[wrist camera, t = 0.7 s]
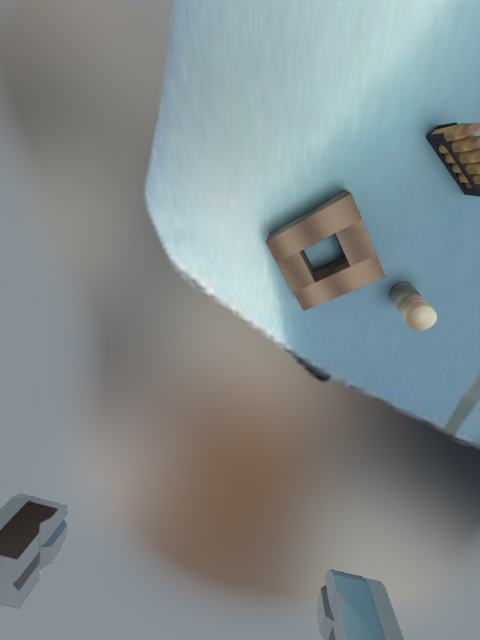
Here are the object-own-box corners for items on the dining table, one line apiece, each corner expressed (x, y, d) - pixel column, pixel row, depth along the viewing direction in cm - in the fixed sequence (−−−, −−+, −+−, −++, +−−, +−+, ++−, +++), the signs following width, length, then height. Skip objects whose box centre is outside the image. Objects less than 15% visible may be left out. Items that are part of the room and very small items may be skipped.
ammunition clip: (425, 136, 39) (467, 127, 29) (438, 125, 39) (486, 111, 28) (465, 194, 42) (516, 205, 32) (478, 185, 41) (536, 192, 31)
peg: (410, 278, 49) (432, 303, 41) (417, 297, 50) (440, 324, 42) (386, 288, 51) (403, 313, 42) (394, 306, 52) (411, 334, 44)
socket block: (346, 190, 45) (351, 193, 39) (377, 264, 49) (385, 276, 44) (269, 233, 50) (265, 241, 45) (303, 297, 55) (303, 311, 50)
